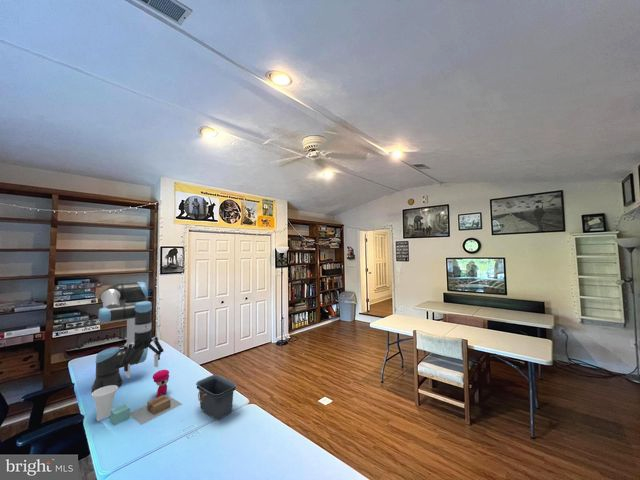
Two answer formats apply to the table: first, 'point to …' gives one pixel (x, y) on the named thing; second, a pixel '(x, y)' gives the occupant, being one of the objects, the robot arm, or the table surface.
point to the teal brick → (120, 414)
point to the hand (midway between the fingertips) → (142, 371)
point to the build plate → (144, 415)
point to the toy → (161, 381)
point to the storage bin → (216, 395)
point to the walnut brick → (158, 404)
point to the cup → (104, 401)
